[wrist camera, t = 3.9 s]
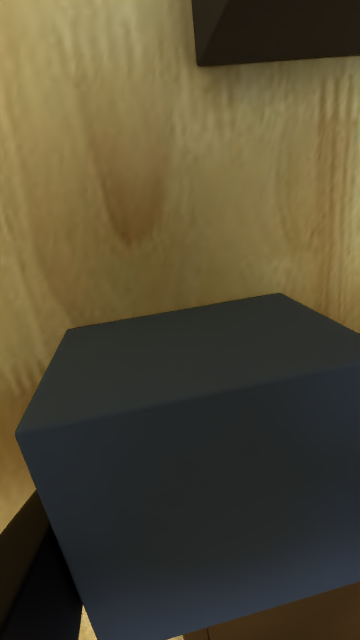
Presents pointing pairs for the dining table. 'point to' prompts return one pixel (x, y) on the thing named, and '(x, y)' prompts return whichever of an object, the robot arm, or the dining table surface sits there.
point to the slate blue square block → (200, 463)
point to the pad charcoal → (274, 30)
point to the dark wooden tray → (296, 620)
